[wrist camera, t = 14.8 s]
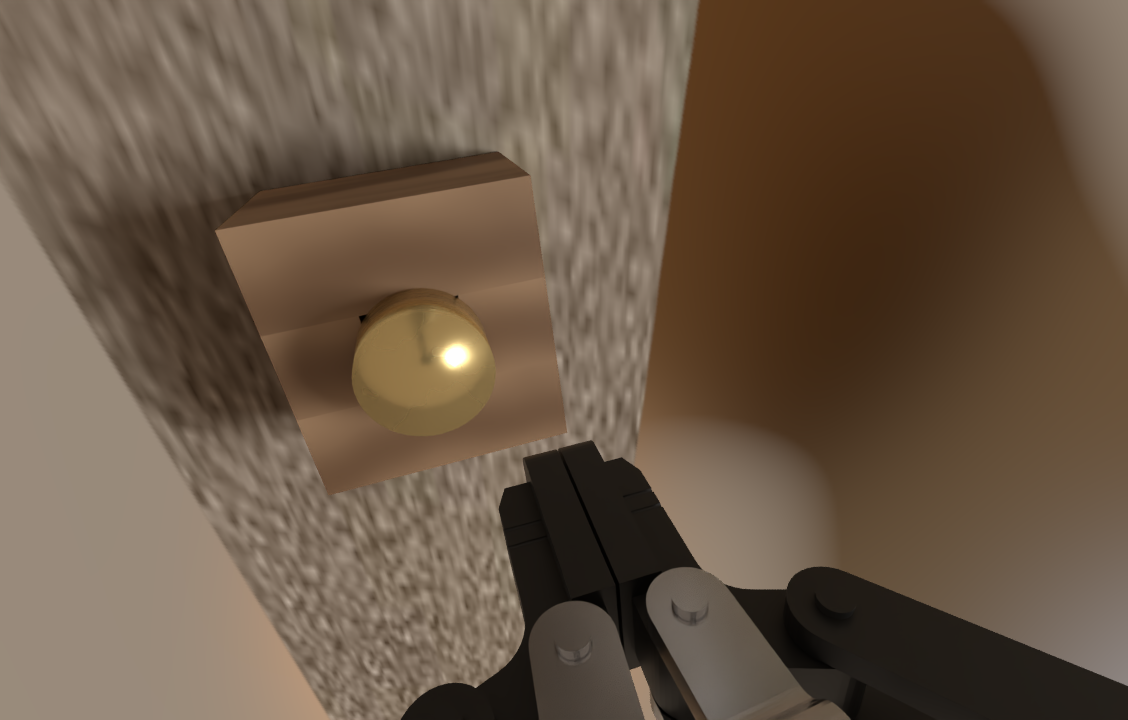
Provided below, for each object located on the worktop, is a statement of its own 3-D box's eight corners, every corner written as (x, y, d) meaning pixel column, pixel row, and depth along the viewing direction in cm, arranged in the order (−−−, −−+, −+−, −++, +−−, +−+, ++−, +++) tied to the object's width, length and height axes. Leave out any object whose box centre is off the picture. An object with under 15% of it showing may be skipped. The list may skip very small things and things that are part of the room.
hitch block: (259, 191, 27) (214, 230, 20) (498, 151, 29) (530, 175, 23) (341, 409, 34) (328, 495, 27) (533, 363, 36) (567, 432, 29)
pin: (349, 255, 29) (332, 330, 20) (456, 235, 30) (481, 298, 21) (379, 350, 31) (375, 450, 23) (476, 328, 32) (506, 417, 24)
